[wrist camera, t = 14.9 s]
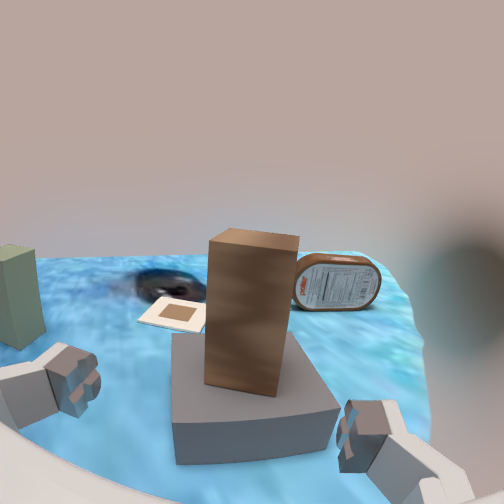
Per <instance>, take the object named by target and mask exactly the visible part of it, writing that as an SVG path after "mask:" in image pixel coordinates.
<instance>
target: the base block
mask: <svg viewBox="0 0 504 504" xmlns="http://www.w3.org/2000/svg"><path fill="white" fill-rule="evenodd" d="M204 355H205V334H186V333H172V348H171V405H172V429H173V439H174V448H175V457H176V465H201V464H223V463H237V462H248V461H258V460H266V459H274V458H281V457H287V456H294V455H300V454H305V453H311V452H316V451H321V450H325V449H326V447H327V444H328V442H329V439H330V437H331V434H332V431H333V429H334V426H335V423H336V421H337V418H338V415H339V412H340V410H341V407H340V405H339V404H338V402H337V401H336V399H335V398H334V396H333V395H332V393H331V392H330V390H329V389H328V387H327V386H326V384H325V383H324V381H323V380H322V378H321V377H320V375H319V374H318V372H317V371H316V369H315V368H314V366H313V364H312V363H311V361H310V360H309V358H308V357H307V355H306V354H305V352H304V351H303V349H302V348H301V346H300V345H299V343H298V342H297V340H296V339H295V337H294V336H293V334H292V333H291V332H287V334H286V340H285V347H284V353H283V359H282V365H281V371H280V377H279V383H278V388H277V394H276V396H269V395H263V394H257V393H251V392H245V391H239V390H234V389H229V388H224V387H219V386H214V385H209V384H205V383H204Z"/></svg>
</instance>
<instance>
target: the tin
mask: <svg viewBox="0 0 504 504" xmlns="http://www.w3.org/2000/svg"><path fill="white" fill-rule="evenodd" d="M381 280H382V278H381V274H380V271H379V270H378V268H377V267H376V266H375V265H374V264H373V263H372V262H371V261H370V260H369V259H367V258H365V257H362V256H350V255H336V254H322V253H313V254H309V255H306V256H304V257H302V258H300V259H299V260H298V261H297V262H296V270H295V277H294V285H293V292H292V298H293V300H294V301H295V303H296V304H297V305H298V306H300V307H301V308H303V309H305V310H309V311H356V310H361V309H363V308H365V307H367V306H368V305H369V304H371V303H372V302H373V301H374V299H375V298H376V297H377V294H378V292H379V290H380V286H381Z"/></svg>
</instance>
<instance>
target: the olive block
mask: <svg viewBox="0 0 504 504" xmlns="http://www.w3.org/2000/svg"><path fill="white" fill-rule="evenodd" d="M45 332H46V329H45V324H44V319H43V313H42V307H41V301H40V294H39V287H38V279H37V271H36V261H35V249H31V248H26V247H21V246H15V245H10V244H7V245H4V246H2V247H0V341H1V342H3V343H5V344H7V345H9V346H11V347H13V348H15V349H17V350H19V351H20V350H22V349H23V348H25V347H26V346H27V345H29V344H30V343H31V342H33V341H34V340H35V339H37V338H38V337H39V336H41V335H42V334H44V333H45Z"/></svg>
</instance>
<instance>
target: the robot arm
mask: <svg viewBox="0 0 504 504" xmlns="http://www.w3.org/2000/svg"><path fill="white" fill-rule="evenodd" d="M97 365H98V362H97V358H96V356H95V355H94V354H92V353H89V352H87V351H84V350H81V349H78V348H76V347H73V346H70V345H67V344H64V343H62V342H58V343H56V344H55V345H53V346H52V347H51V348H49V349H48V350H47V351H46V352H44V353H43V354H42V355H41V356H39V357H38V358H37V359H36V360H34V361H33V362H29V361H28V362H24V363H19V364H15V365H10V366H6V367H1V368H0V504H183V503H179V502H175V501H171V500H168V499H164V498H161V497H157V496H154V495H151V494H148V493H144V492H141V491H138V490H136V489H133V488H130V487H127V486H124V485H122V484H119V483H116V482H114V481H111V480H109V479H106V478H104V477H101V476H99V475H97V474H94V473H92V472H90V471H87V470H85V469H83V468H81V467H79V466H77V465H75V464H73V463H70V462H68V461H66V460H64V459H62V458H61V457H59V456H57V455H55V454H53V453H51V452H49V451H47V450H46V449H44V448H42V447H40V446H38V445H37V444H35V443H33V442H32V441H30V440H28V439H27V438H25V437H23V436H22V435H21V434H20V432H19V429H21V428H23V427H26V426H28V425H30V424H33V423H35V422H37V421H40V420H42V419H44V418H46V417H49V416H51V415H53V414H55V413H57V412H59V411H61V412H63V413H66V414H68V415H71V416H73V417H76V418H78V419H79V417H80V416H81V415H82V414H83V413H84V411H85V410H86V409H87V408H88V403H87V402H89V401H92V400H94V399H95V398H96V397H97V395H98V394H99V391H100V388H101V378H100V374H99V373H98V372H97V370H96V369H95V368H96V367H97ZM344 411H345V416H344V417H343V418H341V419H340V422H339V425H338V429H337V434H336V442H337V447H338V448H339V449H340V450H341V451H340V454H339V456H338V461H339V470H340V473H366V475H367V476H368V477H369V478H370V480H371V481H372V482H373V483H374V484H375V485H376V487H377V488H378V489H379V490H380V491H381V492H382V493H383V495H384V496H385V497H386V498H387V499H388V500H389V501H390V503H391V504H504V489H502V490H499V491H496V492H493V493H491V494H488V495H485V496H482V497H478V498H475V496H474V493H473V491H472V488H471V486H470V483H469V481H468V479H467V476H466V474H465V472H464V470H463V469H461V468H460V467H459V466H457V465H456V464H454V463H453V462H451V461H450V460H449V459H447V458H446V457H444V456H443V455H442V454H440V453H439V452H437V451H436V450H435V449H433V448H432V447H430V446H429V445H428V444H426V443H425V442H424V441H422V440H421V439H420V438H418V437H417V436H415V435H414V434H409V433H408V430H407V428H406V425H405V422H404V420H403V417H402V415H401V412H400V410H399V407H398V404H397V402H396V401H395V400H350V399H349V400H348V401H347V403H346V406H345V408H344Z"/></svg>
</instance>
